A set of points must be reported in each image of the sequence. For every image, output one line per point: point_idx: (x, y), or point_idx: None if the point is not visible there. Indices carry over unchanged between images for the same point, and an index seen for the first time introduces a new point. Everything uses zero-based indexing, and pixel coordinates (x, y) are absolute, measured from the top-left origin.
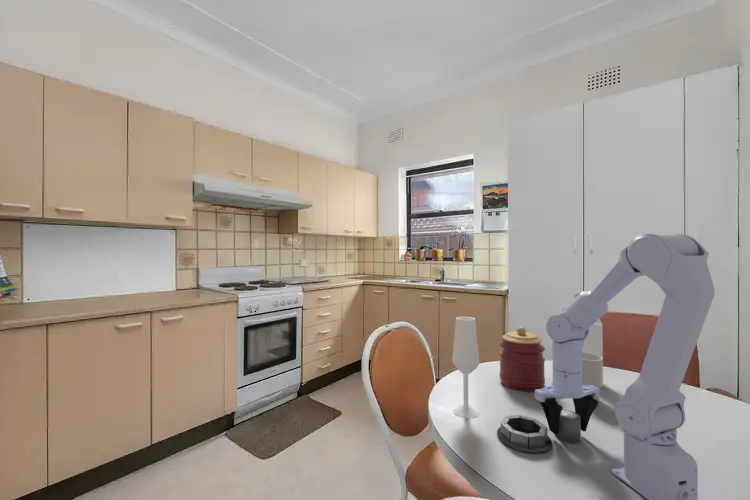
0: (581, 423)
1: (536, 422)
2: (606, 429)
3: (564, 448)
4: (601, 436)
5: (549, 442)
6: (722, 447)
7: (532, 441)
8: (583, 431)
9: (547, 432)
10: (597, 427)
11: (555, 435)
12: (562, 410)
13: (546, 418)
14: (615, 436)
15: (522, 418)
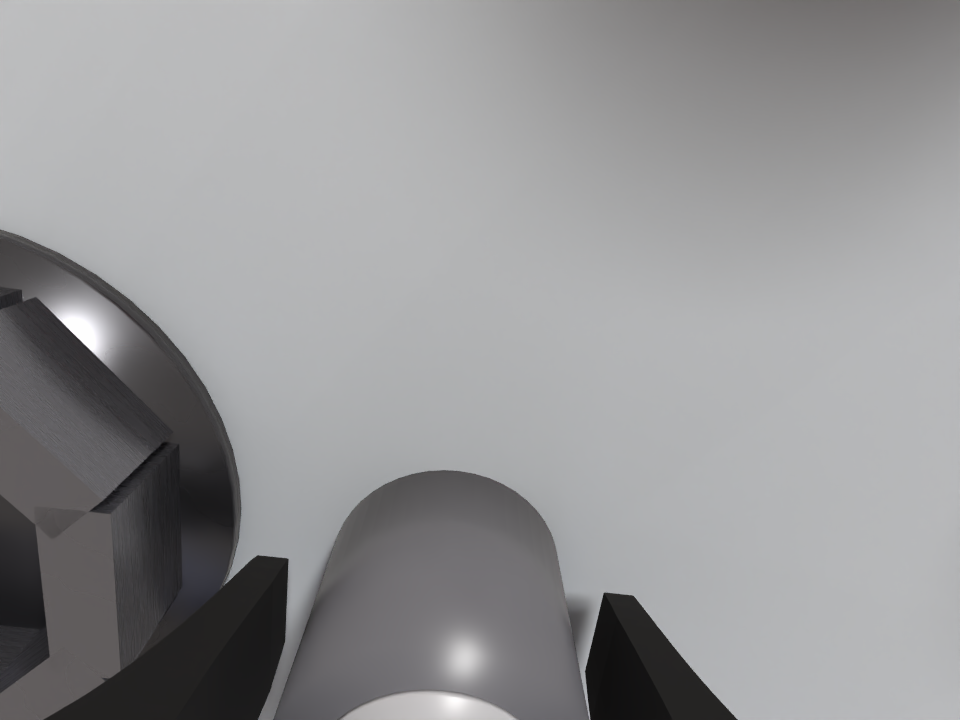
0: (608, 708)
1: (57, 565)
2: (946, 577)
3: None
4: (763, 643)
5: (161, 634)
6: None
7: None
8: (587, 671)
9: (140, 650)
10: (907, 527)
11: (339, 533)
12: (456, 700)
13: (180, 624)
14: (880, 674)
15: None
